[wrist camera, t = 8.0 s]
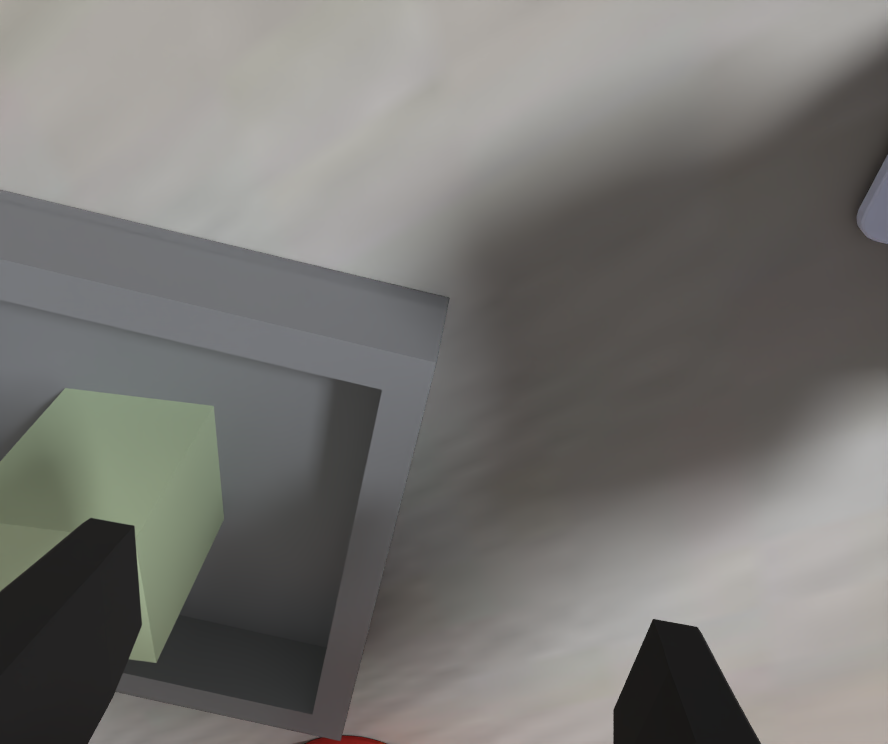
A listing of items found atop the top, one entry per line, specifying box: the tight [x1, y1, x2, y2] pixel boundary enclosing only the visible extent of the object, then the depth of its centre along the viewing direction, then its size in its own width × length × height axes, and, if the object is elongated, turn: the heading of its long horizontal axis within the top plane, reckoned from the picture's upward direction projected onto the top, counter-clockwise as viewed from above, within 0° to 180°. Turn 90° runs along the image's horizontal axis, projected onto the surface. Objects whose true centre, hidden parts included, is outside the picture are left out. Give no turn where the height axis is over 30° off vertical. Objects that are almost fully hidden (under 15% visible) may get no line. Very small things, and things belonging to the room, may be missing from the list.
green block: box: [0, 388, 224, 663], centre depth 20 cm, size 4×4×5 cm
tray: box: [0, 190, 449, 741], centre depth 22 cm, size 14×14×3 cm
